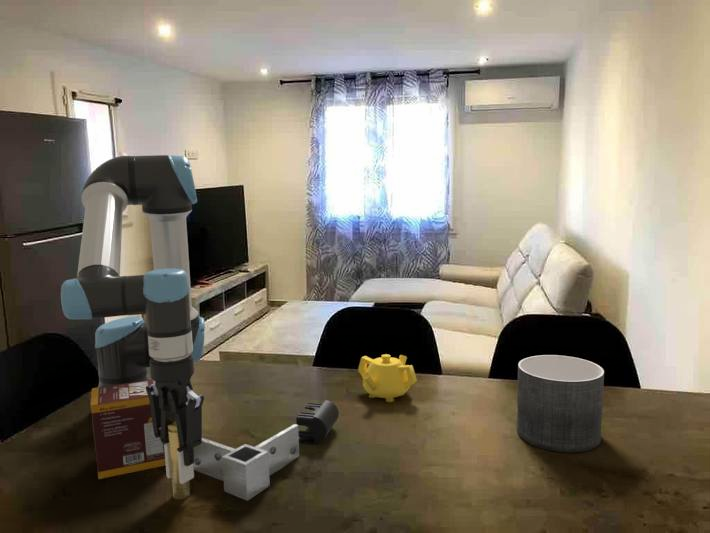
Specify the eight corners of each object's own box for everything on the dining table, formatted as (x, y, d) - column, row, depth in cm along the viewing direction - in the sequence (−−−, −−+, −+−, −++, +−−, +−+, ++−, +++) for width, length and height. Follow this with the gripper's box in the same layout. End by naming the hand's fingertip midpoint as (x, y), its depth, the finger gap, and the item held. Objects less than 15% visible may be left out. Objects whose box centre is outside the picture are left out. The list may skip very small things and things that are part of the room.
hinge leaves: (181, 474, 112) (179, 441, 111) (246, 439, 127) (244, 409, 126) (247, 500, 103) (245, 464, 101) (308, 459, 117) (307, 427, 116)
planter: (613, 432, 126) (616, 365, 124) (582, 462, 114) (585, 388, 111) (537, 412, 139) (539, 350, 136) (502, 436, 126) (503, 369, 123)
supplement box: (97, 457, 120) (91, 387, 118) (172, 443, 126) (167, 376, 124) (96, 480, 111) (89, 405, 109) (177, 463, 117) (172, 391, 115)
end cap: (327, 447, 123) (326, 418, 122) (296, 444, 124) (295, 415, 123) (339, 427, 132) (338, 400, 131) (310, 425, 134) (309, 398, 133)
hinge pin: (169, 496, 105) (164, 425, 103) (182, 488, 107) (177, 419, 105) (180, 501, 103) (175, 428, 101) (193, 493, 105) (188, 422, 103)
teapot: (379, 378, 165) (378, 341, 163) (433, 390, 154) (433, 350, 153) (337, 400, 149) (336, 359, 147) (395, 415, 138) (394, 371, 137)
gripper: (125, 354, 102) (136, 474, 106) (184, 368, 93) (193, 499, 97) (160, 344, 108) (168, 458, 112) (218, 356, 100) (225, 480, 103)
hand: (180, 477), depth 104 cm, fingers closed on hinge pin, 3 cm apart
